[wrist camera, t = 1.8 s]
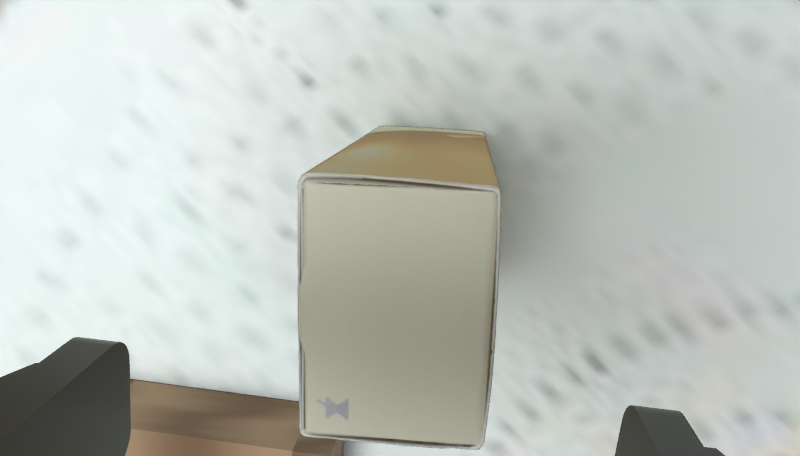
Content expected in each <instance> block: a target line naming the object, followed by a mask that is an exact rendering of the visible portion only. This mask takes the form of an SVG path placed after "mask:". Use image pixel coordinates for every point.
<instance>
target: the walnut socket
mask: <svg viewBox="0 0 800 456" xmlns="http://www.w3.org/2000/svg"><path fill="white" fill-rule="evenodd" d="M130 407H131V434H130V440H129V444H128V448H127V451H126V454H125V456H343V447H344V440H338V439H331V438H315V437H307V436H303V435H302V434H301V433H300V427H299V425H300V405H299V402H295V401H288V400H280V399H273V398H265V397H258V396H250V395H243V394H235V393H228V392H221V391H213V390H206V389H198V388H191V387H183V386H176V385H168V384H161V383H153V382H146V381H138V380H131V379H130Z"/></svg>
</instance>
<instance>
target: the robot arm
mask: <svg viewBox="0 0 800 456" xmlns="http://www.w3.org/2000/svg"><path fill="white" fill-rule="evenodd" d="M130 434H131V407H130V364H129V353H128V349H127V347H126V345H125V344H124V343H121V342H114V341H105V340H97V339H89V338H81V337H75V338H73V339H71V340H69V341H68V342H67V343H65V344H64V345H63V346H61V347H60V348H59V349H57V350H56V351H55V352H53V353H52V354H50V355H49V356H48V357H46V358H45V359H44V360H42V361H41V362H40V363H34V364H32V365H30V366H27V367H25V368H22V369H20V370H17V371H15V372H12V373H10V374H7V375H5V376H3V377H1V378H0V456H125V454H126V451H127V448H128V444H129V440H130ZM615 456H725V455H724V454H722V453H721V452H720V451H719V450H717V449H716V448H707V447H703V445H702V443H701V442H700V440H699V439H698V437H697V436H696V434H695V432H694V431H693V429H692V428H691V426H690V424H689V423H688V421H687V420H686V418H685V416H684V415H683V414H682V413H681V412H680V411H674V410H666V409H657V408H649V407H641V406H632V405H630V406H628V407H627V409H626V410H625V413H624V415H623V419H622V423H621V428H620V433H619V438H618V443H617V448H616V453H615Z"/></svg>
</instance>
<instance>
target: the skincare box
mask: <svg viewBox="0 0 800 456" xmlns="http://www.w3.org/2000/svg"><path fill="white" fill-rule="evenodd" d="M500 214H501V191H500V187H499V184H498V181H497V177H496V173H495V170H494V166H493V163H492V160H491V156H490V152H489V149H488V145H487V141H486V137H485V134H484V133H483V132H480V131H467V130H455V129H439V128H424V127H399V126H380V127H377V128H376V129H374V130H373V131H371V132H370V133H368V134H366V135H364V136H363V137H362V138H360V139H359V140H357V141H355V142H354V143H352V144H350V145H349V146H347V147H346V148H344V149H342V150H341V151H339V152H338V153H336V154H335V155H333V156H332V157H330V158H328V159H327V160H325V161H324V162H322V163H320V164H318V165H317V166H315V167H314V168H312V169H310V170H309V171H307V172H306V173H304V174H302V176H301V178H300V179H299V181H298V337H299V405H300V425H299V427H300V433H301V434H302V435H303V436H307V437H315V438H331V439H338V440H349V441H359V442H368V443H383V444H393V445H402V446H416V447H428V448H460V449H480V448H481V447H482V446H483V443H484V441H485V432H486V425H487V418H488V411H489V403H490V394H491V386H492V375H493V362H494V349H495V335H496V316H497V299H498V277H499V250H500Z"/></svg>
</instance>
